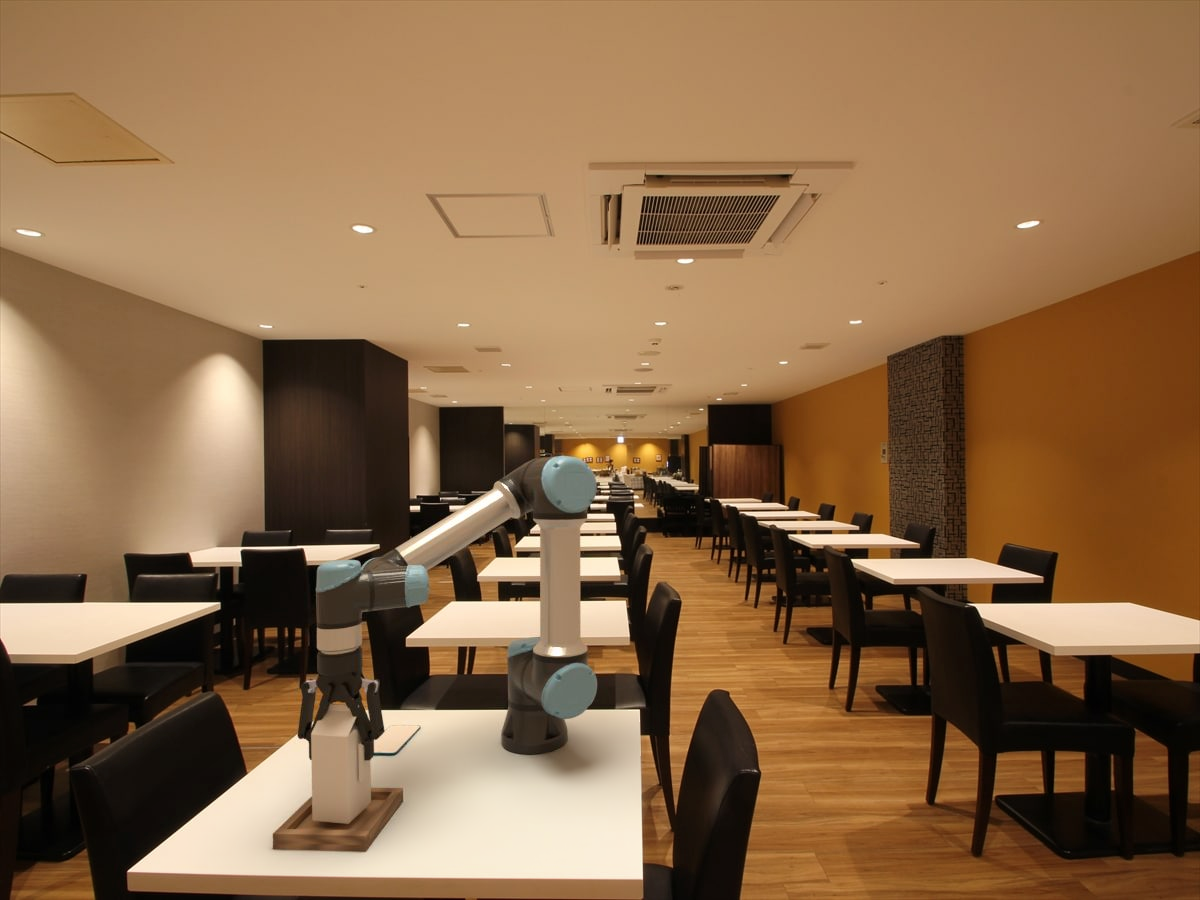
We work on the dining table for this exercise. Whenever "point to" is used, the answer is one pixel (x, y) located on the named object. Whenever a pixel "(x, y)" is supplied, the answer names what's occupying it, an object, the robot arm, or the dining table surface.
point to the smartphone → (394, 739)
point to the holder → (339, 826)
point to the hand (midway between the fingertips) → (341, 777)
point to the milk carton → (337, 768)
